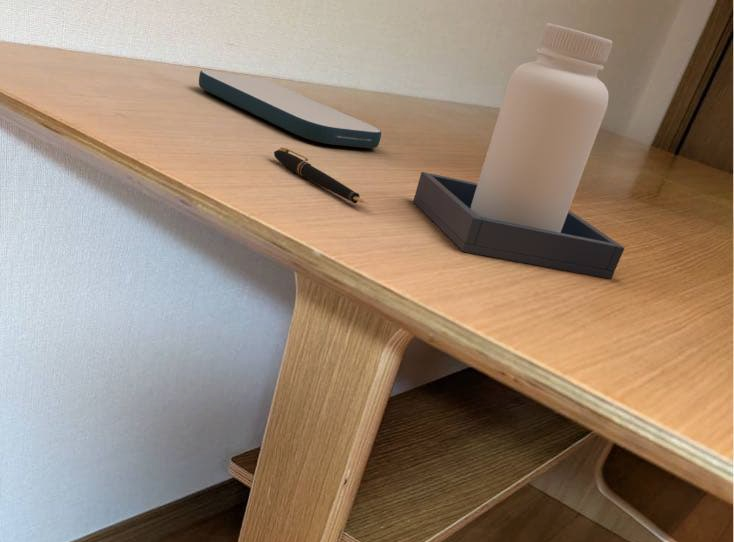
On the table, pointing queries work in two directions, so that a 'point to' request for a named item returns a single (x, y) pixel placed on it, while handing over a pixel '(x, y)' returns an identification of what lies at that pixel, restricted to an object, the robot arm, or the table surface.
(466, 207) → the tray
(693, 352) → the table surface
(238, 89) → the external hard drive
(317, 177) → the fountain pen
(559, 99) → the pill bottle
